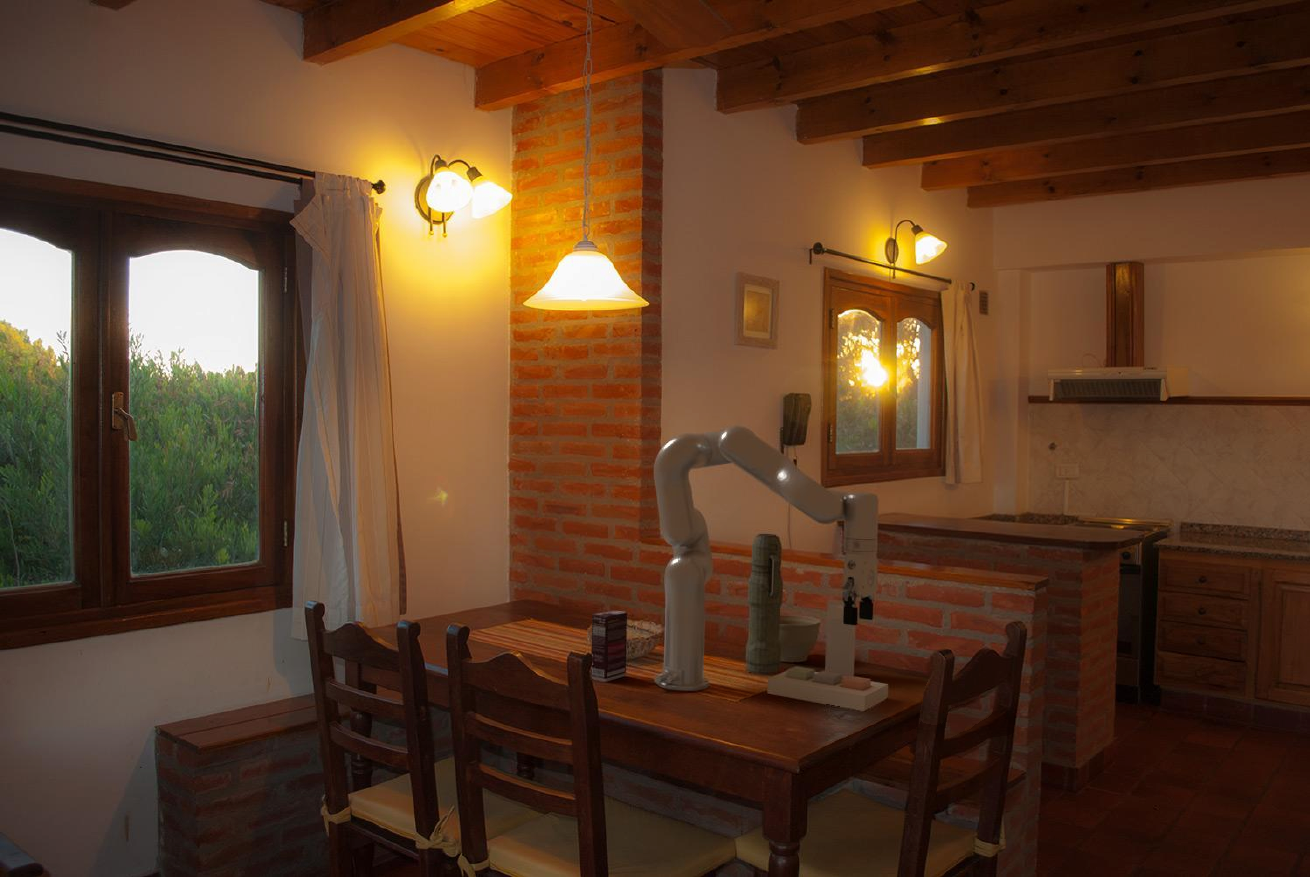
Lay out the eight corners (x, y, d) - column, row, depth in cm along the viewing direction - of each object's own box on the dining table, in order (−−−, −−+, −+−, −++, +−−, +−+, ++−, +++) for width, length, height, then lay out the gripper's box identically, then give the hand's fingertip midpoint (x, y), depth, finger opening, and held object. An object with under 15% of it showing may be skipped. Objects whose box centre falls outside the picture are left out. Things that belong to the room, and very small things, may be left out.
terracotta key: (861, 694, 227) (862, 683, 227) (841, 690, 229) (841, 679, 229) (870, 690, 231) (870, 679, 231) (850, 686, 233) (850, 675, 233)
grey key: (833, 688, 230) (833, 678, 230) (813, 685, 233) (813, 674, 233) (842, 684, 235) (842, 674, 235) (822, 681, 237) (822, 670, 237)
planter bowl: (807, 652, 282) (808, 614, 282) (827, 666, 266) (828, 625, 266) (752, 653, 279) (753, 614, 279) (768, 666, 263) (769, 624, 263)
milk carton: (853, 679, 251) (856, 604, 251) (824, 677, 253) (827, 602, 253) (853, 673, 258) (856, 599, 258) (825, 671, 260) (828, 598, 260)
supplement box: (611, 673, 250) (613, 609, 250) (626, 676, 247) (628, 611, 247) (589, 679, 243) (591, 613, 243) (604, 682, 240) (607, 616, 240)
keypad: (864, 711, 221) (864, 694, 221) (767, 693, 235) (767, 676, 235) (887, 699, 233) (888, 682, 233) (794, 682, 246) (794, 666, 246)
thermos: (761, 677, 250) (766, 537, 250) (735, 667, 261) (740, 532, 261) (790, 675, 254) (795, 536, 254) (764, 664, 265) (768, 532, 265)
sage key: (805, 683, 234) (805, 673, 234) (786, 680, 237) (786, 669, 237) (814, 680, 239) (814, 669, 239) (795, 676, 241) (795, 666, 241)
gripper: (861, 550, 221) (858, 629, 221) (889, 544, 235) (887, 619, 235) (829, 547, 225) (827, 624, 225) (859, 542, 239) (857, 615, 239)
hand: (858, 621), depth 230 cm, fingers open, 8 cm apart
